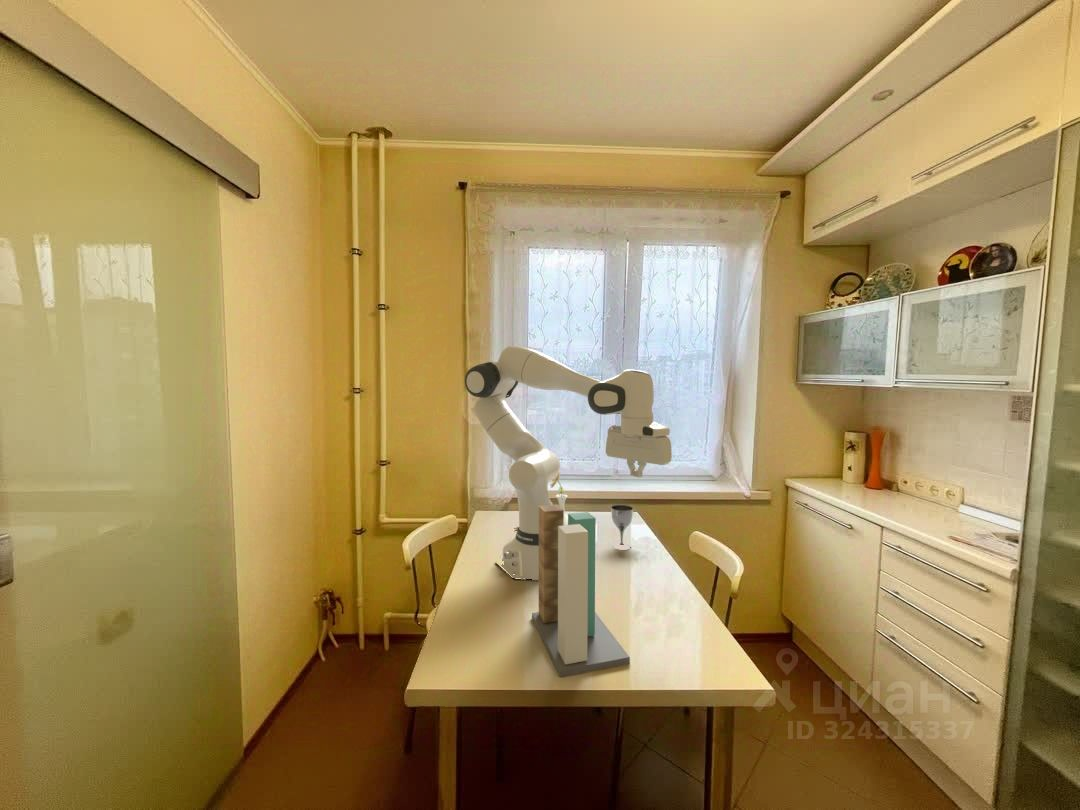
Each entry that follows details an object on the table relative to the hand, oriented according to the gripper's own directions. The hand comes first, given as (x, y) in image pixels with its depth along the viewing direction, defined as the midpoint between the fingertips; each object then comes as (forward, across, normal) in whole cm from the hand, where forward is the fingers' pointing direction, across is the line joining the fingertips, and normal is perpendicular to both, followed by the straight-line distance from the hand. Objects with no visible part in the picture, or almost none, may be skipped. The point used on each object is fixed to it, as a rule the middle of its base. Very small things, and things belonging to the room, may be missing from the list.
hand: (636, 476), depth 119 cm
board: (+35, +3, -26) cm, 44 cm away
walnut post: (+33, -6, -27) cm, 43 cm away
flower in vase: (+35, -57, +25) cm, 72 cm away
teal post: (+33, +3, -26) cm, 42 cm away
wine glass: (+35, -27, +28) cm, 53 cm away
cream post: (+33, +8, -34) cm, 48 cm away
